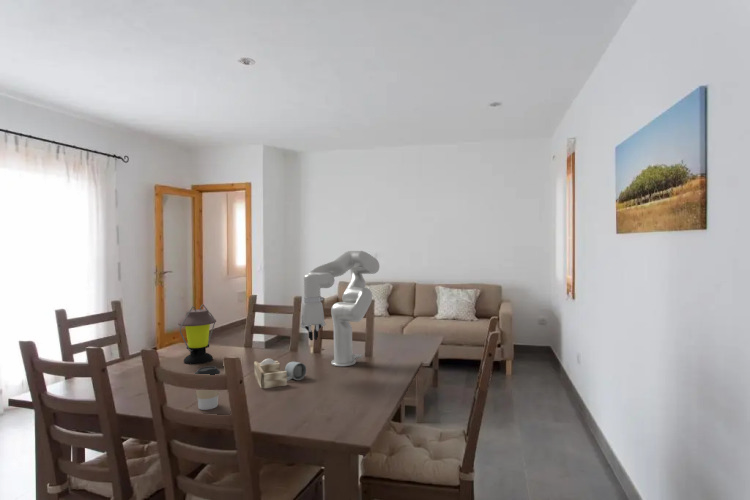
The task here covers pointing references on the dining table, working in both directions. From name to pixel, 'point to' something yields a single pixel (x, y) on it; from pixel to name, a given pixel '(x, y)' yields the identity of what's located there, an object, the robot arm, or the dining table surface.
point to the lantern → (197, 335)
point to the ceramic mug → (295, 370)
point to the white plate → (267, 362)
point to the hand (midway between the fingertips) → (313, 339)
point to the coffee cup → (207, 391)
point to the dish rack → (269, 375)
